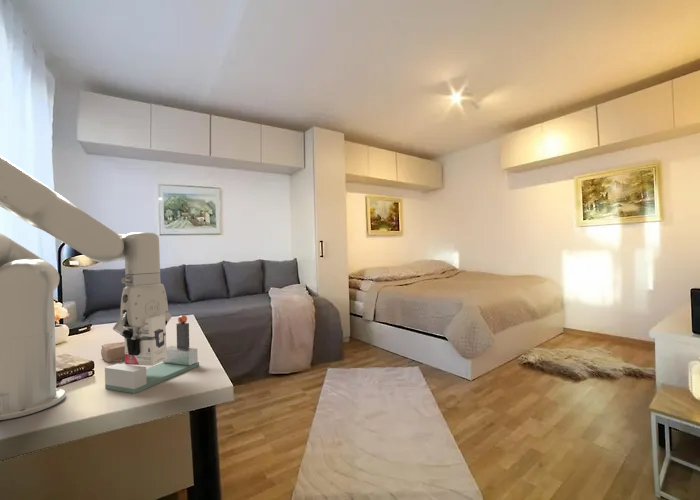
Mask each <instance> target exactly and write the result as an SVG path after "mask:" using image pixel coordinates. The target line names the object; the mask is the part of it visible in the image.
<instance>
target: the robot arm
mask: <svg viewBox="0 0 700 500" xmlns="http://www.w3.org/2000/svg"><path fill="white" fill-rule="evenodd" d="M0 207H1V208H2V209H4V210H5V211H8V212H9V213H11V214H12V215H14V216H15V217H18V218H19V219H21V220H22V221H24V222H26V223H27V224H29V225H30V226H32V227H34V228H37V229H39V230H42V231H44V232H45V233H47V234H48V235H50V236H52V237H54V238H55V239H57V240H58V241H60V242H62V243H64V244H65V245H66V246H69V247H70V248H71V249H74V250H76V252H78V253H80V254H82V255H84V256H85V257H86V258H89V260H92V261H93V262H97V263H112V262H117V261H124V268H125V269H124V270H125V275H124V277H122V278H121V279H120V281H121V283H122V284H125V287H123V288H122V294H121V300H120V312H119V313H120V317H119V319H117V321H116V323H115V324H114V326H113V327H112V330H113V331H114V332H116V333H118V334H119V335H121V336H122V337H123V338H124V340H125V339H127V345H128V354H129V355H136V356H137V355H139V354H140V341H139V339H137V335H138V332H139V328H140V327H144V326H145V319H148V318H151V317H155V316H158V315H165V325H166V326H167V324H168V322H169V321H170V320H171V319H172V316H173V315H172V314H171V312H169V305H168V304H169V302H168V297H167V292H166V287H165V286H164V284H163V283H162V282H161V258H160V257H161V255H160V253H161V252H160V238H159V236H158V234H157V233H154V232H146V231H145V232H143V231H141V232H140V231H139V232H129V233H127V234H125V233H124V234H123V233H117V232H116V231H114V230H112V229H111V228H109V227H108V226H106V225H105V224H103V223H102V222H100V221H98V220H97V219H96V218H94V217H93V216H91V215H90V214H88V213H86V212H85V211H83V209H82V210H81V208H79V207H77V206H75V205H74V203H72V202H70V200H68V199H66V198H65V197H64V196H62V195H61V194H59V193H58V192H57V191H55V190H54V189H52V188H50V187H49V186H48V185H46V184H44V183H43V182H41V181H39V179H36V178H35V177H33V176H32V175H31V174H29V173H28V172H26V171H24V170H23V169H22V168H20V167H19V166H18V165H16V164H14V163H12V162H11V161H10V160H8V159H6V158H5V157H3V156H2V155H0ZM60 281H61V280H60V273H59V271H58V269H56V267H55V266H54V265H53V264H51V263H49V262H48V261H46V260H45V259H43V258H41V257H40V256H39V255H36V254H35V253H33V252H32V251H31V250H29V249H27V248H26V247H24V246H23V245H21V244H20V243H18V242H16V241H15V240H13V239H12V238H9V237H8V236H6V235H4V234H2V233H1V232H0V421H4V420H11V419H15V418H21V417H24V416H27V415H32V414H36V413H38V412H41V411H44V410H46V409H49V408H51V407H53V406H55V405H57V404H59V403H60V402H62V401H63V400H64V399H65V398H66V390H64V389H63V388H57V360H56V359H57V354H56V350H57V349H56V347H57V346H56V343H57V342H56V318H55V302H54V301H55V300H54V292H55V290H56V289H57V288H58V286H59V285H60ZM124 327H127V330H126V329H125V328H124ZM132 330H133V331H132Z"/></svg>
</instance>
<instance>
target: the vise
mask: <svg viewBox="0 0 700 500" xmlns="http://www.w3.org/2000/svg"><path fill="white" fill-rule="evenodd" d="M199 366H200V362H199V361H198V362H196V363H194V364H191V365H181V364H173V363H165V362H160V363H157V364H155V365H153V366H151V367H148V368H147V367H146V366H141V365H128V364H125V363H124V364H123V363H114V364H112V365H109V366H106V367H104V383H105V385H104V387H105V389H108V390H112V391H116V392H117V391H118V392H124V393H130V394H136V393H139V392H141V391H143V390H147V388H150V387H152V386H155V385H157V384H160V383H162V382H165V381H166V380H168V379H171V378H173V377H175V376H178V375H181V374H183V373H185V372H187V371H190V370H192V369H194V368H197V367H199Z"/></svg>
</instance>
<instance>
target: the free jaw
mask: <svg viewBox="0 0 700 500" xmlns="http://www.w3.org/2000/svg"><path fill="white" fill-rule="evenodd" d="M187 321H188V317H187V315H184V314H182V315H179V317H178V318H177V322H178V323H176V324H175V325H176V346H175V345H171V346H166V351H167V359H166V360H164V361H162V363H164V362H165V363H173V364H181V365H191V364H194V363H196V362H199V361H198V359H199V357H198V348H195V347H190V324H189V322H187Z"/></svg>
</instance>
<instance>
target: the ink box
mask: <svg viewBox="0 0 700 500" xmlns="http://www.w3.org/2000/svg"><path fill="white" fill-rule="evenodd" d="M166 326H167V325H165V315H158V316H155V317H151V318H148V319H145V326H144V327H140V328H139V332H138V335H137V339H139V341H140V354H139V355H137V356H136V355H129V354H128V345H127V339H125V338H124V342H125V360H124V364H125V365H132V366H151V367H153V366H156V365H158V364H161V363H163V361H164V360H166V359H167V351H166V348H167V332H166V331H167V329H166ZM124 328H125V329H126V330H127V327H124ZM132 331H133V330H132Z"/></svg>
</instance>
